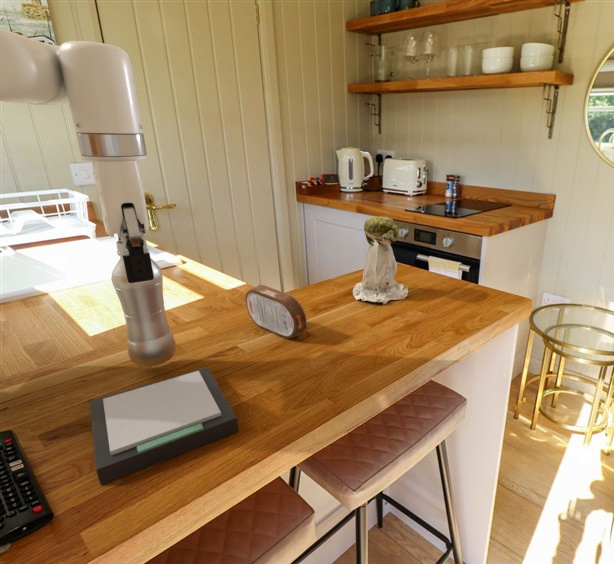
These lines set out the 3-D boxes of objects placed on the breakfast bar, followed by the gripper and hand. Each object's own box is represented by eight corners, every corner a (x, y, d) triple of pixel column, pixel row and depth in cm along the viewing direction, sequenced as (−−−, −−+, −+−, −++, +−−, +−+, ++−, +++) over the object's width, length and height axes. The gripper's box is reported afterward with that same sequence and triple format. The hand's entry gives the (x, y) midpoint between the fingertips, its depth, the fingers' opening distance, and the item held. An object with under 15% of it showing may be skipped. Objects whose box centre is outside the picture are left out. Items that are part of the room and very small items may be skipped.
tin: (309, 339, 79) (306, 297, 76) (296, 346, 76) (292, 303, 73) (258, 318, 87) (254, 279, 84) (245, 323, 84) (240, 284, 81)
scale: (100, 485, 47) (94, 465, 46) (93, 414, 58) (88, 397, 57) (239, 431, 55) (236, 413, 54) (209, 378, 66) (206, 363, 65)
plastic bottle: (186, 358, 69) (166, 239, 62) (144, 377, 64) (117, 249, 57) (164, 347, 72) (143, 233, 65) (122, 364, 67) (94, 241, 60)
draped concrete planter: (342, 292, 100) (339, 216, 94) (385, 280, 108) (385, 209, 102) (371, 308, 92) (370, 225, 85) (416, 294, 100) (418, 217, 93)
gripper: (77, 144, 61) (103, 262, 67) (81, 152, 48) (113, 298, 54) (137, 144, 65) (156, 255, 71) (155, 152, 52) (177, 287, 59)
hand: (137, 273), depth 63 cm, fingers closed on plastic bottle, 6 cm apart
